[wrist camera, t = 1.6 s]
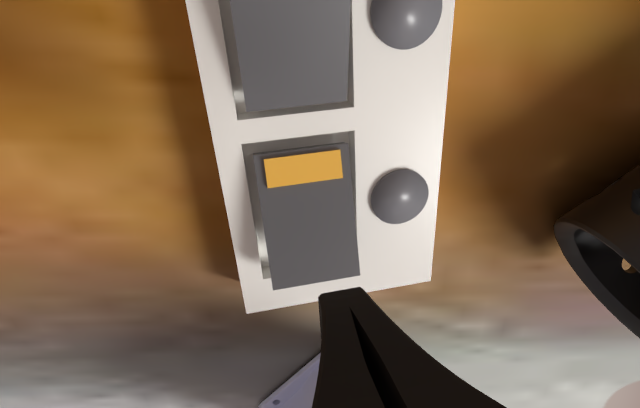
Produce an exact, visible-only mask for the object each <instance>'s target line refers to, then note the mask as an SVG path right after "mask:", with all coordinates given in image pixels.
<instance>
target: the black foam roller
mask: <svg viewBox="0 0 640 408" xmlns="http://www.w3.org/2000/svg"><path fill="white" fill-rule="evenodd" d="M554 233H555V237H556V239H557V242H558V244H559V246H560V248H561V250H562V252H563V255H564V256H565V258H566V259H567V261H568V262H569V264H570V265H571V267H572V268H573V270H574V271H575V272H576V274H577V275H578V276H579V278H580V279H581V280H582V281H583V283H584V284H585V285H586V286H587V287H588V289H589V290H590V291H591V292H592V293H593V294H594V295H595V296H596V298H597V299H598V300H599V301H600V302H601V303H602V304H603V305H604V306H605V307H606V308H607V309H608V310H609V311H610V312H611V313H612V314H613V315H614V316H615V317H616V318H617V319H618V320H619V321H620V322H621V323H623V324H624V325H625V326H626V327H627V328H628V329H629V330H631V331H632V332H633V333H634V334H635V335H636V336H638V337H639V338H640V165H639V166H637V167H636V168H634V169H633V170H631V171H630V172H628V173H627V174H625V175H624V176H622V177H621V178H619V179H618V180H617V181H615V182H614V183H612V184H611V185H609V186H608V187H607V188H605V189H604V190H603V191H602V192H601V193H600V194H598V195H597V196H594V197H592V198H590V199H588V200H586V201H584V202H583V203H581V204H580V205H578V206H577V207H575V208H574V209H572V210H571V211H569V212H568V213H566V214H565V215H563V216H562V217H560V218H559V219H558V220H556V221H555V224H554ZM623 258H624V259H625V260H626V261H627V262H628V263H630V264H631V267H630V268H629V269H628V270H623V268H622V260H623Z"/></svg>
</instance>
